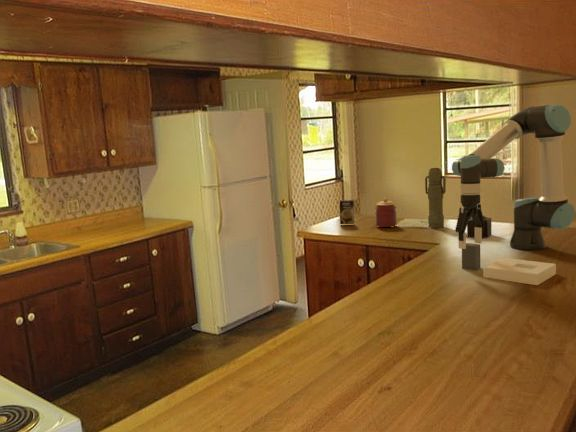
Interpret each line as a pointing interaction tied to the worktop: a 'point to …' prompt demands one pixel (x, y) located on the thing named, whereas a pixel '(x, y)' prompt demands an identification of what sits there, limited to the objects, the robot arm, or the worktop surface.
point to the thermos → (435, 197)
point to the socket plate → (520, 271)
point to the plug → (471, 257)
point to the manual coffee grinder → (485, 231)
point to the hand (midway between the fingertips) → (470, 245)
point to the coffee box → (347, 212)
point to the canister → (386, 213)
